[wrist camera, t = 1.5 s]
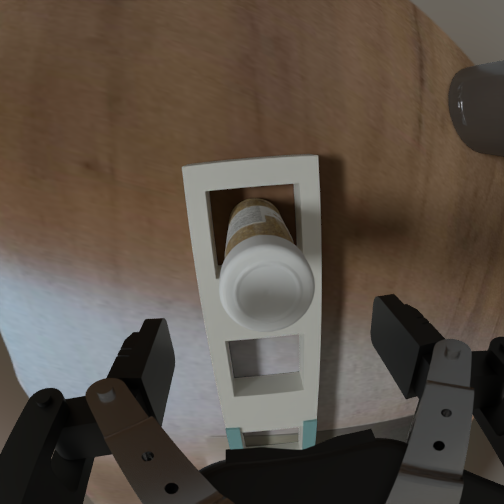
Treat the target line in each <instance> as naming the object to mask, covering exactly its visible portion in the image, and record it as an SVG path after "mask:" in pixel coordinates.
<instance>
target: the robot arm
mask: <svg viewBox="0 0 504 504" xmlns="http://www.w3.org/2000/svg"><path fill="white" fill-rule="evenodd" d="M448 98H449V110H450V115H451V119H452V122H453V125H454V127H455V129H456V131H457V133H458V135H459V136H460V138H461V139H462V141H463V142H464V143H465V144H466V145H467V146H468V147H470V148H471V149H472V150H474V151H477V152H479V153H485V154H491V155H498V156H504V60H503V61H497V62H492V63H486V64H481V65H476V66H472V67H467V68H464V69H461V70H460V71H459V72H458V73H456V75H455V76H454V78H453V79H452V82H451V85H450V88H449V95H448ZM371 340H372V344H373V346H374V348H375V349H376V351H377V352H378V354H379V356H380V357H381V359H382V361H383V362H384V364H385V365H386V367H387V369H388V370H389V372H390V374H391V375H392V377H393V378H394V380H395V382H396V383H397V385H398V387H399V388H400V390H401V392H402V393H403V395H404V397H405V398H406V399H409V398H412V397H416V396H418V398H419V402H418V405H417V408H416V411H415V414H414V418H413V421H412V424H411V427H410V430H409V433H408V436H407V439H406V441H405V442H402V441H398V440H394V439H387V438H375V437H374V434H373V432H372V430H371V429H368V430H364V431H359V432H355V433H350V434H346V435H341V436H337V437H334V438H332V439H329V440H327V441H324V442H322V443H319V444H317V445H314V446H311V447H309V448H306V449H302V450H295V449H280V448H268V447H257V448H244V449H228V450H226V460H222V461H219V462H216V463H213V464H211V465H209V466H206V467H204V468H202V469H201V470H199V471H198V470H197V469H196V467H195V466H194V465H193V464H192V463H191V462H190V461H189V460H188V459H187V457H186V456H185V455H184V454H183V453H182V452H181V450H180V449H179V448H178V447H177V446H176V445H175V443H174V442H173V441H172V440H171V438H170V437H169V436H168V435H167V434H166V432H165V431H164V430H163V429H162V427H161V426H162V422H163V417H164V412H165V408H166V403H167V399H168V394H169V390H170V385H171V381H172V377H173V372H174V368H175V355H174V350H173V346H172V342H171V338H170V334H169V330H168V325H167V322H166V320H165V318H158V319H145V321H144V323H143V325H142V327H141V329H140V331H139V332H133V333H132V334H131V335H130V336H129V337H128V338H127V339H125V341H124V343H123V345H122V347H121V350H120V351H119V353H118V357H116V359H115V361H114V363H113V365H112V367H111V370H110V372H109V374H108V376H107V378H106V379H102V380H99V381H97V382H95V383H93V384H92V385H91V386H90V387H89V388H88V390H87V392H86V396H83V397H77V398H71V399H65V398H64V396H63V394H62V393H61V391H59V390H58V389H55V388H46V389H42V390H40V391H38V392H36V393H35V394H33V395H32V396H31V397H30V399H29V400H28V402H27V404H26V406H25V407H24V409H23V411H22V413H21V415H20V417H19V418H18V420H17V422H16V424H15V426H14V428H13V430H12V432H11V434H10V436H9V438H8V440H7V442H6V444H5V446H4V448H3V450H2V452H1V454H0V504H83V501H84V497H85V493H86V489H87V485H88V481H89V477H90V473H91V469H92V465H93V461H94V458H95V457H98V456H104V455H110V454H113V456H114V458H115V460H116V461H117V463H118V465H119V467H120V468H121V470H122V472H123V473H124V475H125V477H126V478H127V480H128V482H129V483H130V485H131V487H132V488H133V490H134V491H135V493H136V494H137V496H138V497H139V499H140V500H141V502H142V503H143V504H504V486H503V485H500V484H498V483H495V482H493V481H490V480H488V479H485V478H483V477H480V476H478V475H476V474H473V473H471V472H469V471H466V470H464V469H463V468H464V464H465V458H466V453H467V448H468V441H469V434H470V428H471V420H472V414H473V416H474V418H475V419H476V421H477V422H478V424H479V425H480V427H481V429H482V430H483V432H484V434H485V435H486V437H487V438H488V440H489V442H490V444H491V445H492V447H493V449H494V450H495V452H496V454H497V455H498V457H499V459H500V461H501V462H502V464H503V466H504V337H497V338H494V339H493V340H492V341H491V342H490V345H489V348H488V351H471V349H470V347H469V346H468V345H467V344H465V343H464V342H462V341H459V340H455V339H445V338H444V337H443V336H442V335H441V334H440V333H439V332H438V331H437V330H436V329H435V327H434V326H433V325H432V324H431V323H429V321H428V320H427V319H426V318H424V316H423V315H422V314H421V313H420V312H419V311H418V310H417V309H415V308H413V307H411V306H410V305H408V304H403V303H402V302H401V301H400V300H399V299H398V297H397V296H396V295H394V294H390V295H384V296H377V297H375V299H374V303H373V313H372V323H371ZM54 449H55V451H54ZM53 452H54V454H53ZM52 454H53V457H52ZM51 457H52V459H51Z"/></svg>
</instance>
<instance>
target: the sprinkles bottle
mask: <svg viewBox="0 0 504 504" xmlns="http://www.w3.org/2000/svg"><path fill="white" fill-rule="evenodd" d="M228 227H229V228H228V233H227V240H226V248H225V260H224V262H223V264H222V268H221V272H220V279H219V295H220V300H221V303H222V306H223V308H224V310H225V311H226V313H227V314H228V315H229V317H230V318H231V319H232V320H234V321H235V322H236V323H238V324H239V325H241V326H242V327H245V328H247V329H250V330H253V331H259V332H272V331H278V330H281V329H284V328H286V327H289V326H290V325H292V324H294V323H295V322H297V321H298V320H299V319H300V318H301V317H302V316H303V315H304V314H305V313H306V312H307V310H308V309H309V307H310V305H311V303H312V300H313V297H314V292H315V280H314V275H313V272H312V270H311V267H310V265H309V263H308V261H307V260H306V258H305V256H304V254H303V253H302V252H301V250H300V249H299V248H298V247H297V246H296V245H294V243H293V240H292V237H291V235H290V233H289V231H288V229H287V227H286V225H285V223H284V222H283V220H282V218H281V215H280V213H279V211H278V210H277V208H276V207H275V206H274V205H273V204H272V203H270V202H269V201H266V200H264V199H259V198H252V199H246V200H244V201H242V202H240V203H239V204H238V205H236V206H235V208H234V209H233V210H232V212H231V215H230V217H229V223H228Z"/></svg>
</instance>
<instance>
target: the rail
mask: <svg viewBox="0 0 504 504" xmlns="http://www.w3.org/2000/svg"><path fill="white" fill-rule="evenodd" d="M182 172H183V181H184V189H185V197H186V205H187V213H188V220H189V228H190V235H191V242H192V249H193V256H194V262H195V269H196V275H197V282H198V288H199V294H200V300H201V306H202V312H203V317H204V323H205V329H206V334H207V339H208V345H209V350H210V355H211V361H212V366H213V371H214V376H215V381H216V385H217V390H218V395H219V400H220V404H221V409H222V414H223V418H224V423H225V427H226V434H227V438H228V442H229V446H230V449H244V448H257V447H268V448H280V449H295V450H302V449H306V448H309V447H311V446H314V445H315V441H316V429H317V406H318V390H319V371H320V346H321V303H322V252H321V208H320V183H319V164H318V155H312V154H300V155H283V156H268V157H255V158H243V159H232V160H222V161H213V162H204V163H195V164H188V165H185V166H183V167H182ZM280 184H294V200H295V219H296V240H297V247H298V248H299V249H300V250H301V252H302V253H303V254H304V256H305V258H306V260H307V261H308V263H309V265H310V267H311V270H312V272H313V275H314V280H315V292H314V297H313V300H312V303H311V305H310V307H309V309H308V310H307V312H306V313H305V314H304V315H303V316H302V317H301V318H300V319H299V320H298V321H297V322H295V323H294V324H292V325H290V326H289V327H286V328H284V329H281V330H278V331H272V332H259V331H253V330H250V329H247V328H245V327H242V326H241V325H239V324H238V323H236V322H235V321H234V320H232V319H231V318H230V317H229V315H228V314H227V313H226V311H225V310H224V308H223V306H222V303H221V300H220V295H219V279H220V272H221V268H222V265H218V261H217V253H216V245H215V237H214V229H213V220H212V211H211V203H210V194H209V191H213V190H222V189H233V188H243V187H255V186H267V185H280ZM296 334H299V372H291V373H283V374H273V375H263V376H252V377H240V378H234V374H233V368H232V361H231V354H230V348H229V341H234V340H246V339H258V338H268V337H278V336H287V335H296ZM295 427H299V442H291V443H283V444H274V445H263V446H251V447H246V446H245V440H244V434H243V432H256V431H268V430H278V429H286V428H295Z"/></svg>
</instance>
